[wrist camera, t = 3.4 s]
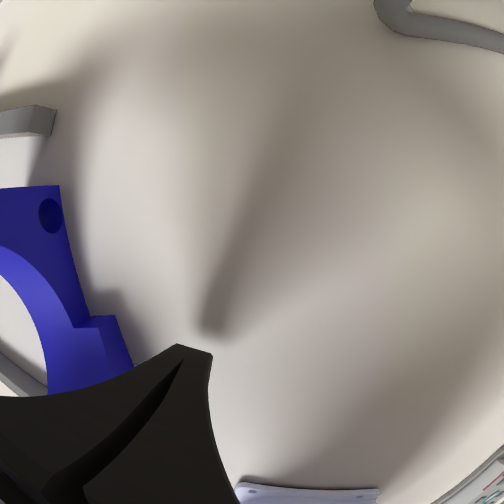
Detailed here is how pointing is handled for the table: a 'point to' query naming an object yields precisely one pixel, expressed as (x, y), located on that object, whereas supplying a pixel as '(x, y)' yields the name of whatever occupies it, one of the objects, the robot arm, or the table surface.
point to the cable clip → (56, 291)
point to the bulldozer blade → (21, 125)
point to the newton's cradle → (435, 26)
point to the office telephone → (479, 484)
